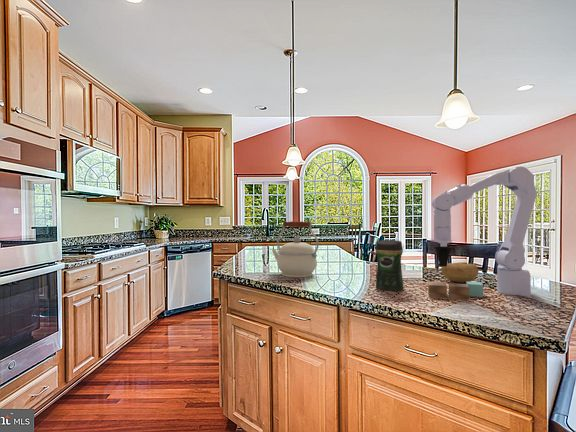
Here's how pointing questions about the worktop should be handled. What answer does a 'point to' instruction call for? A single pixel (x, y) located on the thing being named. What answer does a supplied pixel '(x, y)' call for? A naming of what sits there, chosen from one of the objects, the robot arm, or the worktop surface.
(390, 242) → the coffee jar
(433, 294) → the walnut block
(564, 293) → the worktop surface
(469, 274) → the potato
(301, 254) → the kettle
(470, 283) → the teal block
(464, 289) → the walnut block
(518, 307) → the worktop surface
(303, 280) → the worktop surface
